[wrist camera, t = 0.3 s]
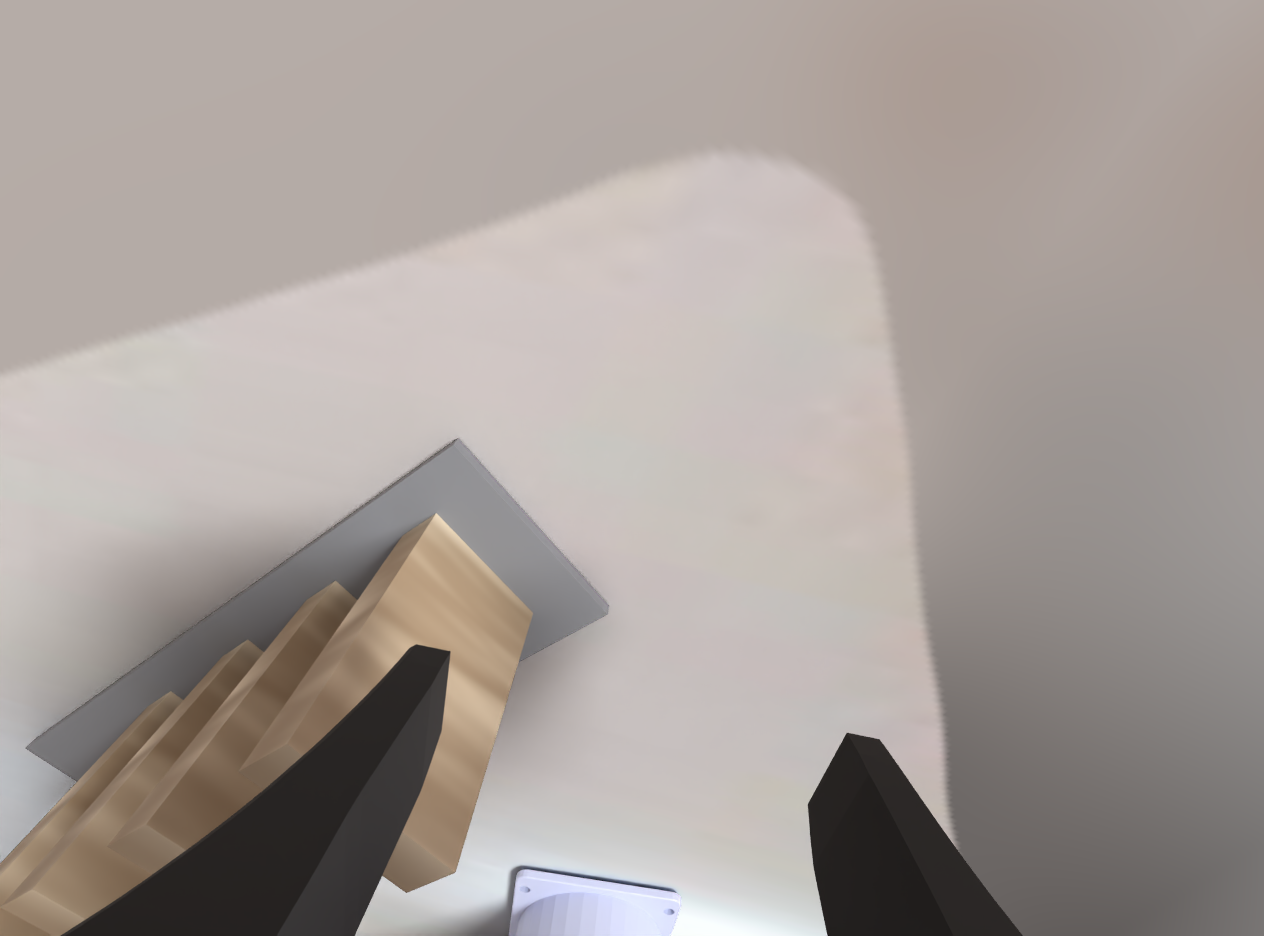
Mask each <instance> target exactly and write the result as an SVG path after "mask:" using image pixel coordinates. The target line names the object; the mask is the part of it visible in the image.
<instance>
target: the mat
mask: <svg viewBox="0 0 1264 936" xmlns="http://www.w3.org/2000/svg"><path fill="white" fill-rule="evenodd" d="M436 513H437V514H438V515H439V516H440V517H441V518H442V519H443V520H444V522H445V523H446V524H447V525H448V526H449V527H450V528H451V529H452V530H453V531H454V532H455V533H456V534H457V535H458V536H459V537H460V538H461V539H462V540H463V541H464V542H465V543H466V544H467V545H468V546H469V547H470V548H471V549H472V550H473V551H474V552H475V554H476V555H477V556H478V557H479V558H480V559H481V560H482V561H483V562H484V563H485V564H486V565H487V566H488V567H489V568H490V569H491V570H492V571H493V572H494V573H495V574H496V575H497V576H498V577H499V578H500V579H501V580H502V581H503V582H504V583H505V585H506V586H507V587H508V588H509V589H510V590H511V591H512V592H513V593H514V594H515V595H516V596H517V597H518V598H519V599H520V600H521V601H522V602H523V603H524V604H525V605H526V606H527V607H528V608H529V609H530V610H531V611H532V612H533V615H532V619H531V622H530V625H529V629H528V632H527V635H526V639H525V642H524V645H523V649H522V652H521V655H520V659H519V662H520V661H522V660H524V659H525V658H527V657H529V656H531V655H533V654H535V653H537V652H538V651H540V650H542V649H544V648H546V647H548V646H550V645H551V644H553V643H555V642H557V641H559V640H561V639H563V638H564V637H566V636H568V635H570V634H572V633H574V632H576V631H577V630H579V629H581V628H583V627H585V626H587V625H589V624H591V623H592V622H594V621H596V620H598V619H600V618H602V617H604V616H605V615H607V614H608V608H609V605H608V604H607V603H606V601H605V600H604V599H603V598H602V597H601V596H600V595H599V594H598V593H597V591H596V590H595V589H594V588H593V587H592V586H591V585H590V584H589V583H588V581H587V580H586V579H585V578H584V577H583V576H582V575H581V574H580V573H579V571H578V570H577V569H576V568H575V567H574V566H573V565H572V564H571V563H570V561H569V560H568V559H567V558H566V557H565V556H564V555H563V554H562V553H561V551H560V550H559V549H558V548H557V547H556V546H555V545H554V544H553V543H552V541H551V540H550V539H549V538H548V537H547V536H546V535H545V534H544V533H543V531H542V530H541V529H540V528H539V527H538V526H537V525H536V524H535V523H534V521H533V520H532V519H531V518H530V517H529V516H528V515H527V514H526V513H525V511H524V510H523V509H522V508H521V507H520V506H519V505H518V504H517V503H516V501H515V500H514V499H513V498H512V497H511V496H510V495H509V494H508V493H507V491H506V490H505V489H504V488H503V487H502V486H501V485H500V484H499V483H498V481H497V480H496V479H495V478H494V477H493V476H492V475H491V474H490V473H489V471H488V470H487V469H486V468H485V467H484V466H483V465H482V464H481V463H480V461H479V460H478V459H477V458H476V457H475V456H474V455H473V454H472V453H471V451H470V450H469V449H468V448H467V447H466V446H465V445H464V444H463V443H462V441H461V440H460V439H459V438H458V439H456V440H455V441H454V442H452V443H451V444H449V445H448V446H446V447H445V448H444V449H442V450H441V451H439V452H438V453H437V454H435V455H434V456H432V457H431V458H430V459H428V460H427V461H425V462H424V463H423V464H421V465H420V466H418V467H417V468H416V469H414V470H413V471H411V472H410V473H409V474H407V475H406V476H404V477H403V478H401V479H400V480H399V481H397V482H396V483H394V484H393V485H392V486H390V487H389V488H387V489H386V490H385V491H383V492H382V493H380V494H379V495H378V496H376V497H375V498H373V499H372V500H371V501H369V502H368V503H366V504H365V505H364V506H362V507H361V508H359V509H358V510H356V511H355V512H354V513H352V514H351V515H349V516H348V517H347V518H345V519H344V520H342V521H341V522H340V523H338V524H337V525H335V526H334V527H333V528H331V529H330V530H328V531H327V532H326V533H324V534H323V535H321V536H320V537H319V538H317V539H316V540H314V541H313V542H311V543H310V544H309V545H307V546H306V547H304V548H303V549H302V550H300V551H299V552H297V553H296V554H295V555H293V556H292V557H290V558H289V559H288V560H286V561H285V562H283V563H282V564H281V565H279V566H278V567H276V568H275V569H274V570H272V571H271V572H269V573H268V574H266V575H265V576H264V577H262V578H261V579H259V580H258V581H257V582H255V583H254V584H252V585H251V586H250V587H248V588H247V589H245V590H244V591H243V592H241V593H240V594H238V595H237V596H236V597H234V598H233V599H231V600H230V601H229V602H227V603H226V604H224V605H223V606H222V607H220V608H219V609H217V610H216V611H214V612H213V613H212V614H210V615H209V616H207V617H206V618H205V619H203V620H202V621H200V622H199V623H198V624H196V625H195V626H193V627H192V628H191V629H189V630H188V631H186V632H185V633H184V634H182V635H181V636H179V637H178V638H177V639H175V640H174V641H172V642H171V643H169V644H168V645H167V646H165V647H164V648H162V649H161V650H160V651H158V652H157V653H155V654H154V655H153V656H151V657H150V658H148V659H147V660H146V661H144V662H143V663H141V664H140V665H139V666H137V667H136V668H134V669H133V670H132V671H130V672H129V673H127V674H126V675H124V676H123V677H122V678H120V679H119V680H117V681H116V682H115V683H113V684H112V685H110V686H109V687H108V688H106V689H105V690H103V691H102V692H101V693H99V694H98V695H96V696H95V697H94V698H92V699H91V700H89V701H88V702H87V703H85V704H84V705H82V706H81V707H79V708H78V709H77V710H75V711H74V712H72V713H71V714H70V715H68V716H67V717H65V718H64V719H63V720H61V721H60V722H58V723H57V724H56V725H54V726H53V727H51V728H50V729H49V730H47V731H46V732H44V733H43V734H42V735H40V736H39V737H37V738H36V739H35V740H34V741H33V742H32V743H30V744H29V745H28V746H27V747H26V749H27V750H29V751H30V752H32V753H33V754H35V755H37V756H38V757H40V758H41V759H43V760H44V761H46V762H47V763H49V764H51V765H52V766H54V767H55V768H57V769H58V770H60V771H61V772H63V773H65V774H66V775H68V776H69V777H71V778H72V779H74V780H75V781H78V780H79V779H80V778H81V777H82V776H83V775H84V774H85V773H86V772H87V771H88V770H89V769H90V768H91V767H92V765H93V764H94V763H95V762H96V761H97V760H98V759H99V758H100V757H101V756H102V755H103V754H104V753H105V752H106V751H107V749H108V748H109V747H110V746H111V745H112V744H113V743H114V742H115V741H116V740H117V739H118V738H119V737H120V736H121V735H122V733H123V732H124V731H125V730H126V729H127V728H128V727H129V726H130V725H131V724H132V723H133V722H134V721H135V720H136V719H137V717H138V716H139V715H140V714H141V713H142V712H143V711H144V710H145V709H146V708H147V707H148V706H149V705H151V704H152V703H154V702H155V701H157V700H158V699H160V698H161V697H163V696H164V695H166V694H167V693H169V692H170V691H171V692H173V693H174V694H176V695H177V696H178V697H180V698H181V699H182V700H184V699H185V698H186V697H187V696H188V695H189V693H190V692H191V691H192V690H193V689H194V688H195V687H196V686H197V684H198V683H199V682H200V681H201V680H202V679H203V678H204V677H205V675H206V674H207V673H208V672H209V671H210V670H211V669H212V667H213V666H214V665H215V664H216V663H217V662H218V661H219V660H220V658H221V657H222V656H224V655H225V654H227V653H228V652H230V651H231V650H233V649H234V648H236V647H237V646H239V645H240V644H242V643H243V642H245V641H246V640H249V641H251V642H252V643H253V644H254V645H255V646H257V647H258V648H259V649H260V650H262V651H263V652H265V651H266V649H267V648H268V647H269V646H270V644H271V643H272V642H273V641H274V639H275V638H276V637H277V636H278V635H279V633H280V632H281V631H282V630H283V628H284V627H285V626H286V625H287V623H288V622H289V621H290V620H291V618H292V617H293V616H294V615H295V614H296V612H297V611H298V610H299V609H300V607H301V606H302V605H303V604H304V602H305V601H306V600H307V599H309V598H310V597H312V596H313V595H315V594H316V593H318V592H319V591H321V590H322V589H324V588H325V587H327V586H328V585H330V584H331V583H333V582H334V581H337V582H338V583H339V584H340V585H341V586H342V587H343V588H345V589H346V590H347V591H348V592H349V593H350V594H351V595H352V596H353V597H354V598H356V599H357V600H358V599H359V597H360V596H361V595H362V593H363V592H364V590H365V589H366V587H367V586H368V584H369V583H370V582H371V580H372V579H373V577H374V576H375V574H376V573H377V572H378V570H379V569H380V567H381V566H382V564H383V563H384V561H385V560H386V559H387V557H388V556H389V554H390V553H391V551H392V550H393V549H394V547H395V546H396V544H397V543H398V541H399V540H400V539H401V537H402V536H403V535H404V534H406V533H407V532H409V531H410V530H412V529H413V528H415V527H416V526H418V525H419V524H421V523H422V522H424V521H425V520H427V519H428V518H430V517H431V516H433V515H434V514H436Z"/></svg>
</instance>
